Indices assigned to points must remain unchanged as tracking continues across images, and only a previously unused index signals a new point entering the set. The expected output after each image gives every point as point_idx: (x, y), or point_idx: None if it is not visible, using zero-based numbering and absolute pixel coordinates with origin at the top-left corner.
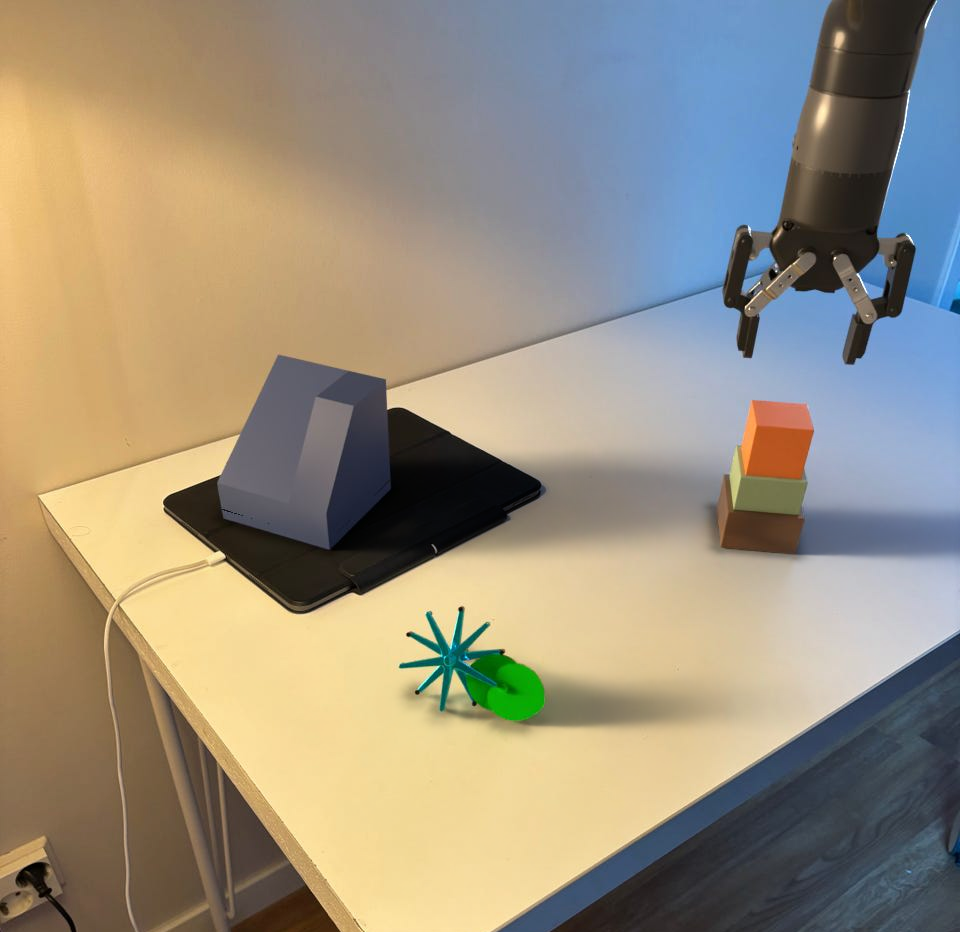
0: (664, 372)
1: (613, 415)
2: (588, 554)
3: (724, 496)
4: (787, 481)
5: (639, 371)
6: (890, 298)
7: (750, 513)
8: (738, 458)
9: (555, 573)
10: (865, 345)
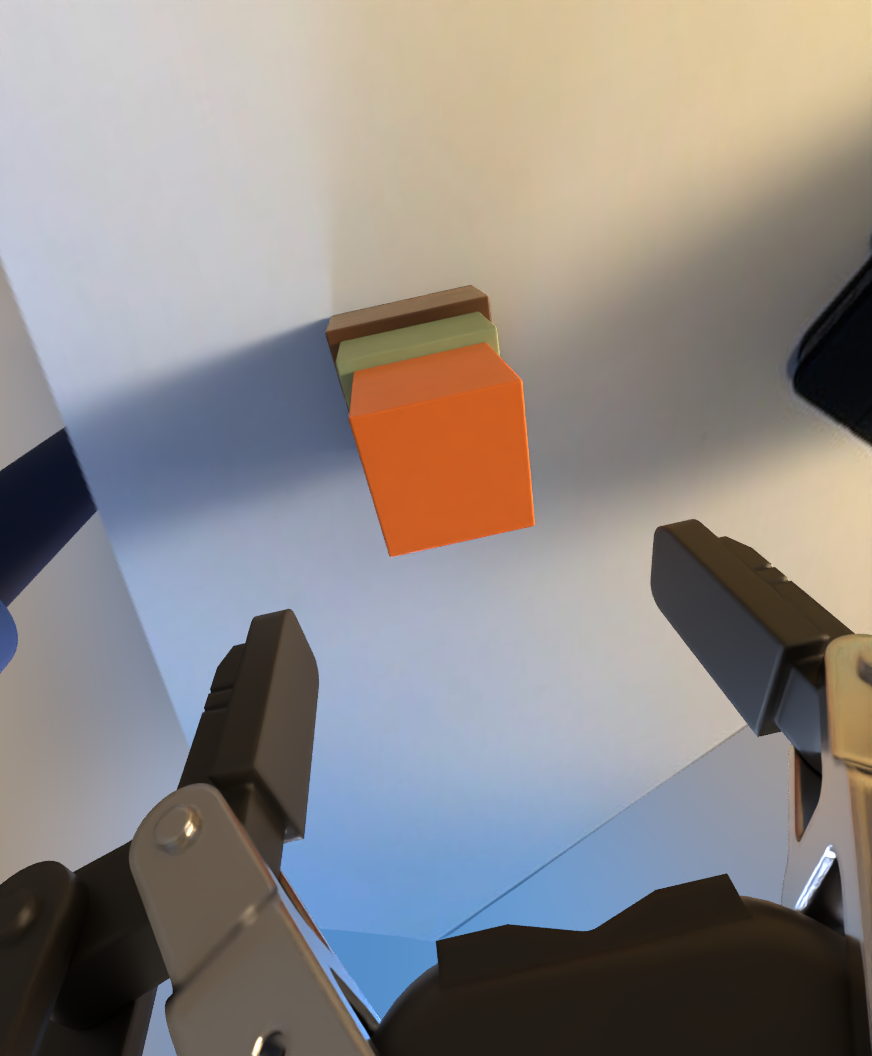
0: (581, 724)
1: (655, 611)
2: (731, 153)
3: None
4: (383, 350)
5: (615, 715)
6: (8, 1019)
7: (441, 309)
8: None
9: (812, 34)
10: (213, 693)
